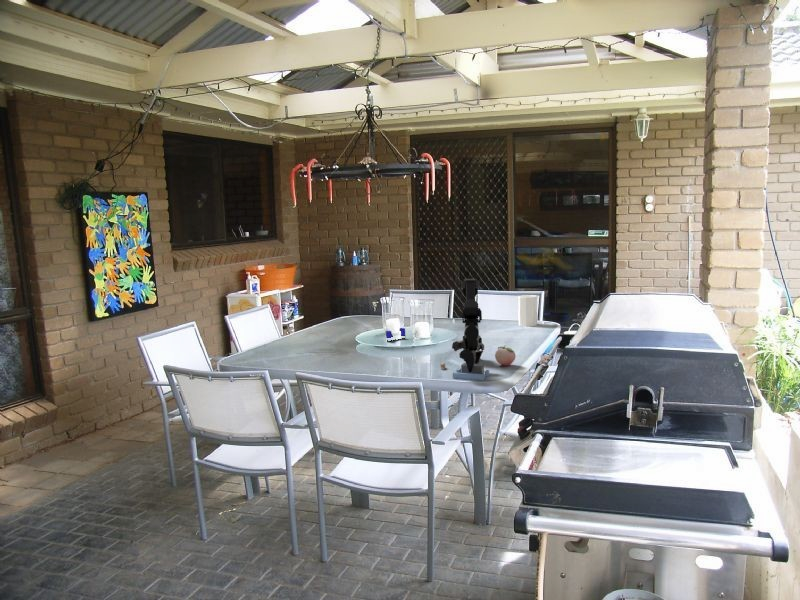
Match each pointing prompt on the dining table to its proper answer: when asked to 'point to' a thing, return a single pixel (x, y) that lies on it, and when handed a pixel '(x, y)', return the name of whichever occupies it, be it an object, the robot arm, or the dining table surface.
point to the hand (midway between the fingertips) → (472, 369)
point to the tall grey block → (476, 369)
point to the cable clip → (389, 335)
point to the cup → (527, 310)
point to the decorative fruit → (505, 356)
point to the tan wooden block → (442, 366)
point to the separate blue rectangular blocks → (469, 375)
